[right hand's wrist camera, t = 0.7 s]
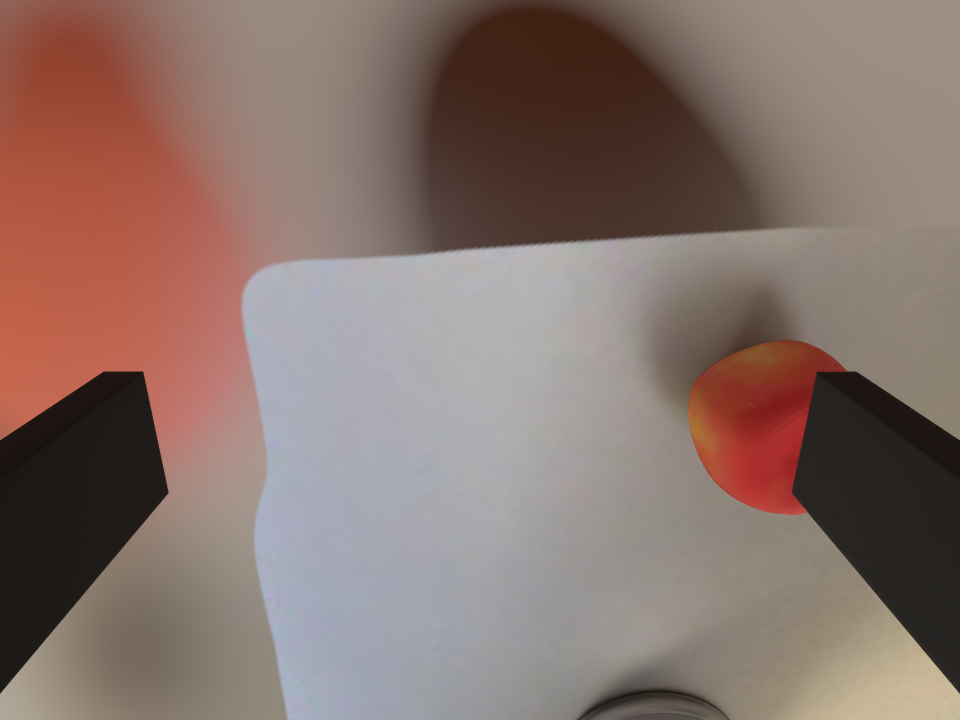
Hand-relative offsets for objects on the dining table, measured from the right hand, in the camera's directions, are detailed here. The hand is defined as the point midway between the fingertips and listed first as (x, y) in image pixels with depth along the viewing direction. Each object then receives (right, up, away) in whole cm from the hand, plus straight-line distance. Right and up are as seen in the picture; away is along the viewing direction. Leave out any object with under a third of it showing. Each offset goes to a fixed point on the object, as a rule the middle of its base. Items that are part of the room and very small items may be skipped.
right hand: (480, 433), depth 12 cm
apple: (+17, 0, +28) cm, 33 cm away
